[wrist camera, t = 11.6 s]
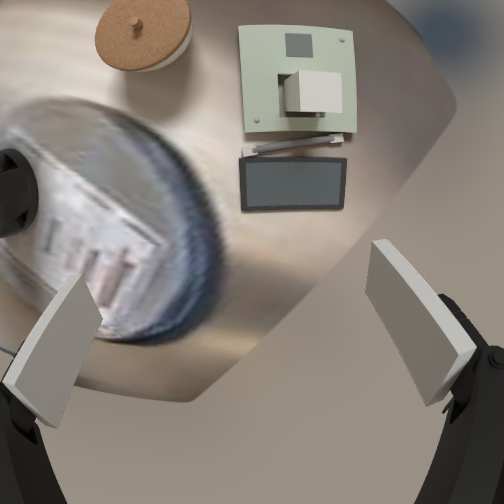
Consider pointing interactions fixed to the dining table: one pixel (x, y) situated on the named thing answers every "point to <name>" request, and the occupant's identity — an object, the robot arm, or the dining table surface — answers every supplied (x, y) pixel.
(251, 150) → the grey pen
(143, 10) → the lidded jar
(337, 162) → the phone
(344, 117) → the outlet plate
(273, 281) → the dining table surface
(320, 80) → the block
